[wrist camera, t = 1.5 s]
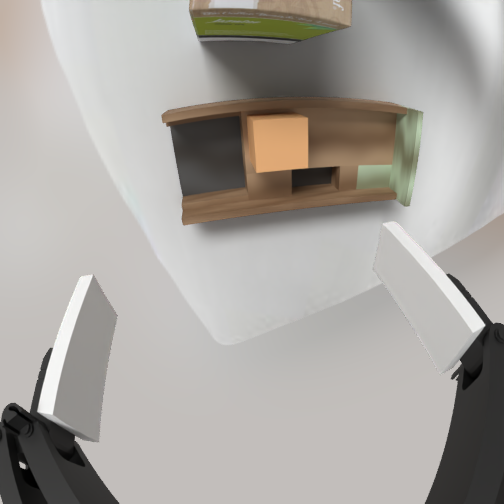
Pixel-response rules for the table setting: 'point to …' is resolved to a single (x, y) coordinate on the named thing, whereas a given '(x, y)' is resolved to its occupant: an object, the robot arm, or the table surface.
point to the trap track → (295, 180)
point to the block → (278, 141)
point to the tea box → (268, 19)
